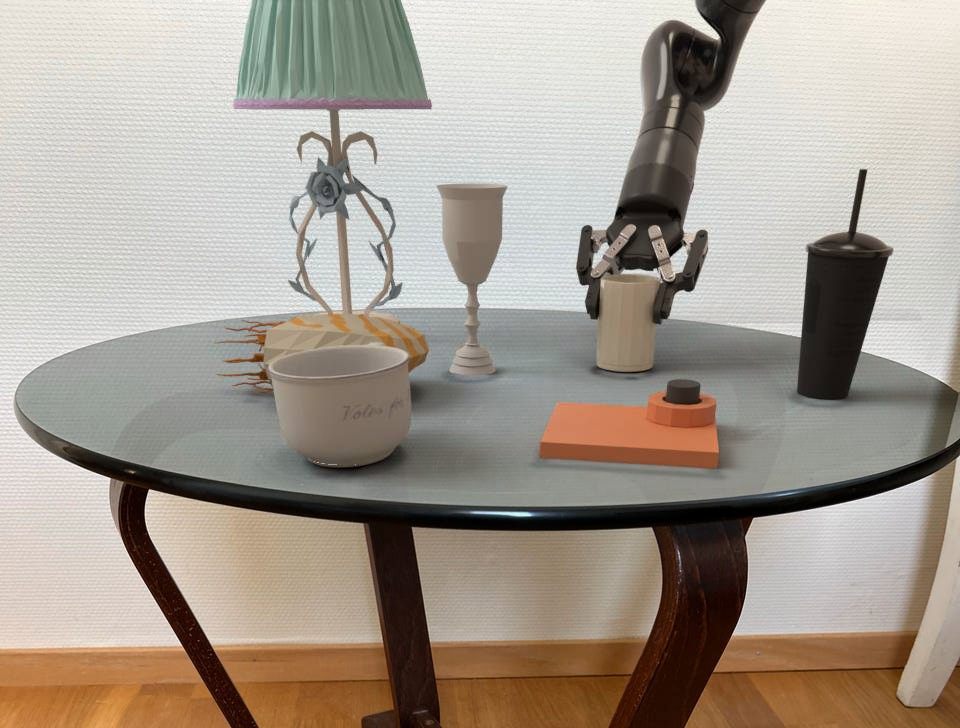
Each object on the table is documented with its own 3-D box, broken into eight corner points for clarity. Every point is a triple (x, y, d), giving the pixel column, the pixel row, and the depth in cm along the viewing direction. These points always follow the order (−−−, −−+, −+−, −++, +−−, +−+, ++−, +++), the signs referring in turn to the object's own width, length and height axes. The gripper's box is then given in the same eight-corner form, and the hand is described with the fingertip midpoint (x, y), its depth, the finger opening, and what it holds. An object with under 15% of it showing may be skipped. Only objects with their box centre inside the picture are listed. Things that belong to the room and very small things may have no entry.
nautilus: (185, 408, 90) (266, 379, 103) (390, 414, 83) (449, 383, 96) (170, 321, 87) (255, 303, 99) (383, 321, 80) (445, 301, 93)
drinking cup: (859, 408, 89) (907, 172, 79) (776, 399, 91) (813, 170, 82) (866, 389, 95) (912, 168, 85) (788, 381, 98) (824, 166, 88)
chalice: (468, 381, 97) (467, 189, 88) (426, 370, 101) (421, 185, 93) (518, 370, 101) (523, 186, 93) (476, 359, 106) (476, 182, 97)
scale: (712, 425, 84) (716, 392, 82) (717, 469, 73) (722, 432, 72) (556, 417, 86) (558, 384, 84) (539, 458, 76) (540, 421, 74)
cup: (653, 359, 105) (661, 274, 101) (652, 373, 100) (660, 283, 96) (598, 357, 106) (603, 273, 102) (594, 370, 101) (599, 282, 97)
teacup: (362, 488, 70) (355, 379, 66) (249, 464, 74) (237, 361, 70) (456, 438, 80) (455, 342, 76) (353, 420, 85) (347, 329, 81)
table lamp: (224, 350, 109) (169, -77, 90) (310, 317, 127) (280, -45, 108) (396, 364, 104) (377, -90, 84) (461, 327, 121) (457, -54, 102)
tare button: (698, 400, 81) (700, 379, 80) (698, 408, 79) (701, 388, 78) (665, 398, 82) (667, 378, 81) (665, 407, 79) (667, 386, 79)
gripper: (588, 159, 102) (553, 291, 98) (723, 161, 97) (691, 299, 93) (598, 208, 109) (565, 333, 105) (724, 212, 104) (694, 343, 100)
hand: (625, 317), depth 99 cm, fingers closed on cup, 6 cm apart
